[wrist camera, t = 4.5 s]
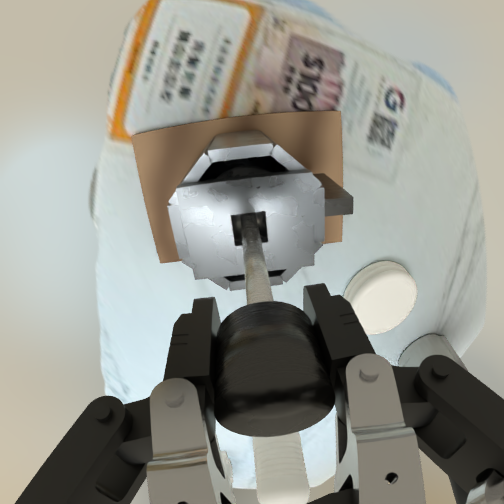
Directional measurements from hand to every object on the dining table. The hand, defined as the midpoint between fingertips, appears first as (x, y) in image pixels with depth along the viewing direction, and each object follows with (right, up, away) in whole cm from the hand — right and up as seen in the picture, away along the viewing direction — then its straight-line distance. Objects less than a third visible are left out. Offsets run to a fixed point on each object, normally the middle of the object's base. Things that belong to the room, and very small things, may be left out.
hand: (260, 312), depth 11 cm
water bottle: (+2, -19, +34) cm, 39 cm away
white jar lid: (+16, -3, +27) cm, 32 cm away
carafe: (0, +9, +17) cm, 19 cm away
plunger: (-1, +5, +10) cm, 11 cm away
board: (-1, +9, +19) cm, 21 cm away
